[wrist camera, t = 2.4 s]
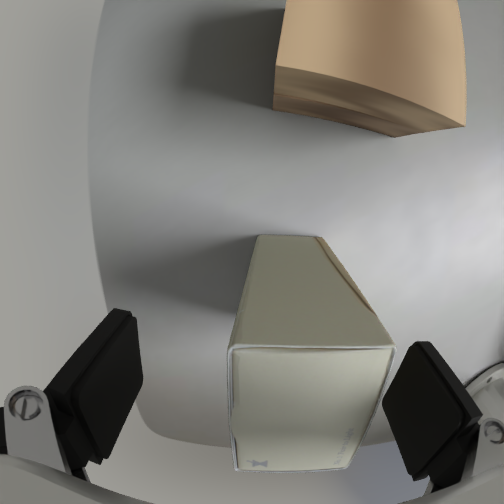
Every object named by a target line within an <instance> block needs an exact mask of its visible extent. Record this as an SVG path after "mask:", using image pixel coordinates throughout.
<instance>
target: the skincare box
mask: <svg viewBox="0 0 504 504" xmlns="http://www.w3.org/2000/svg"><path fill="white" fill-rule="evenodd" d="M395 354H396V345H395V343H394V342H393V340H392V339H391V337H390V335H389V334H388V332H387V331H386V329H385V328H384V326H383V325H382V323H381V322H380V320H379V319H378V317H377V315H376V314H375V312H374V311H373V309H372V308H371V306H370V305H369V303H368V302H367V300H366V298H365V297H364V296H363V294H362V293H361V291H360V290H359V288H358V287H357V285H356V284H355V282H354V281H353V280H352V278H351V277H350V275H349V274H348V272H347V271H346V269H345V268H344V266H343V265H342V264H341V262H340V261H339V260H338V258H337V257H336V255H335V254H334V253H333V251H332V250H331V248H330V247H329V246H328V244H327V243H326V242H325V240H324V239H323V238H322V237H307V236H287V235H259V236H258V237H257V239H256V243H255V247H254V251H253V255H252V258H251V262H250V266H249V270H248V273H247V277H246V281H245V285H244V288H243V292H242V296H241V300H240V304H239V307H238V311H237V315H236V319H235V323H234V326H233V330H232V333H231V337H230V342H229V345H228V350H227V387H228V416H229V429H230V439H231V448H232V456H233V463H234V470H235V471H246V472H248V471H249V472H263V473H265V472H268V473H301V472H320V471H333V470H342V469H346V468H347V467H348V466H349V465H350V463H351V461H352V460H353V458H354V456H355V455H356V453H357V451H358V449H359V447H360V445H361V444H362V442H363V439H364V437H365V435H366V433H367V431H368V429H369V427H370V424H371V422H372V419H373V417H374V415H375V413H376V410H377V408H378V405H379V402H380V400H381V397H382V395H383V392H384V388H385V385H386V383H387V380H388V377H389V374H390V371H391V368H392V364H393V361H394V357H395Z"/></svg>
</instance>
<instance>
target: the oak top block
mask: <svg viewBox="0 0 504 504" xmlns="http://www.w3.org/2000/svg"><path fill="white" fill-rule="evenodd" d="M274 93H276V94H282V95H288V96H294V97H299V98H304V99H309V100H314V101H318V102H323V103H327V104H331V105H336V106H340V107H343V108H347V109H351V110H355V111H358V112H362V113H365V114H368V115H372V116H375V117H378V118H381V119H384V120H387V121H390V122H393V123H396V124H399V125H402V126H405V127H408V128H410V129H413V130H415V131H418V132H421V133H424V132H430V131H437V130H443V129H450V128H457V127H465V125H466V64H465V51H464V41H463V33H462V25H461V19H460V13H459V8H458V3H457V0H287V2H286V7H285V13H284V19H283V25H282V31H281V36H280V42H279V48H278V54H277V60H276V67H275V84H274Z"/></svg>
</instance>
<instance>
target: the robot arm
mask: <svg viewBox="0 0 504 504" xmlns="http://www.w3.org/2000/svg"><path fill="white" fill-rule="evenodd" d="M142 383H143V372H142V365H141V357H140V348H139V339H138V328H137V319H136V317H133V316H132V313H131V312H130V311H126V310H121V309H117V308H114V309H113V310H112V311H111V312H110V313H109V314H108V315H107V316H106V317H105V318H104V320H103V321H102V322H101V323H100V324H99V325H98V326H97V327H96V329H95V330H94V331H93V332H92V333H91V334H90V335H89V337H88V338H87V339H86V340H85V341H84V342H83V343H82V344H81V346H80V347H79V348H78V349H77V350H76V351H75V352H74V354H73V355H72V356H71V357H70V359H69V360H68V361H67V362H66V363H65V365H64V366H63V367H62V368H61V369H60V371H59V372H58V373H57V374H56V376H55V377H54V378H53V379H52V381H51V382H50V383H49V385H48V386H47V387H46V388H45V389H44V391H42V390H40V389H38V388H37V387H33V386H21V387H18V388H16V389H14V390H12V391H11V392H10V393H9V394H8V395H7V397H6V399H5V403H4V407H0V504H153V503H149V502H146V501H142V500H138V499H135V498H131V497H128V496H125V495H122V494H119V493H116V492H113V491H110V490H108V489H104V488H102V487H99V486H97V485H94V484H92V483H91V482H90V480H89V477H88V475H87V473H86V470H85V467H86V465H87V463H88V461H92V462H94V463H96V464H99V465H101V463H102V460H103V458H104V459H108V458H109V456H110V454H111V452H112V449H113V447H114V445H115V443H116V440H117V438H118V436H119V434H120V432H121V429H122V427H123V425H124V423H125V421H126V418H127V416H128V414H129V412H130V410H131V408H132V406H133V403H134V401H135V399H136V397H137V395H138V393H139V391H140V389H141V387H142ZM382 407H383V409H384V412H385V414H386V417H387V419H388V422H389V424H390V427H391V429H392V432H393V434H394V437H395V440H396V442H397V445H398V447H399V450H400V453H401V455H402V458H403V461H404V464H405V466H406V469H407V472H408V474H409V475H412V478H413V481H417V480H421V479H424V478H426V477H427V476H428V475H429V476H430V481H429V483H428V486H427V488H426V491H425V493H424V495H423V496H422V497H419V498H416V499H413V500H409V501H406V502H403V503H399V504H504V363H500V364H498V365H496V366H494V367H492V368H490V369H488V370H487V371H486V372H484V373H483V374H481V375H480V376H479V377H478V378H476V379H475V380H474V381H473V382H472V383H470V384H469V385H468V386H467V387H466V388H465V387H464V386H463V385H462V383H461V382H460V380H459V379H458V378H457V376H456V375H455V374H454V372H453V371H452V369H451V368H450V367H449V365H448V364H447V363H446V362H445V360H444V359H443V358H442V356H441V355H440V354H439V352H438V351H437V350H436V349H435V347H434V346H433V345H432V343H430V342H428V341H417V342H415V343H413V345H412V346H410V347H409V349H408V351H407V353H406V355H405V357H404V359H403V361H402V363H401V365H400V367H399V369H398V371H397V373H396V375H395V377H394V379H393V381H392V383H391V385H390V387H389V388H388V390H387V392H386V394H385V396H384V398H383V400H382Z"/></svg>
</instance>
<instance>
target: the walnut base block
mask: <svg viewBox="0 0 504 504" xmlns="http://www.w3.org/2000/svg"><path fill="white" fill-rule="evenodd" d="M273 110H275V111H281V112H288V113H294V114H300V115H305V116H310V117H316V118H321V119H325V120H330V121H334V122H339V123H343V124H347V125H351V126H355V127H359V128H363V129H367V130H371V131H374V132H378V133H381V134H384V135H388V136H391V137H394V138H395V137H400V136H406V135H411V134H417V133H421V132H418V131H415V130H413V129H410V128H408V127H405V126H402V125H399V124H396V123H393V122H390V121H387V120H384V119H381V118H378V117H375V116H372V115H368V114H365V113H362V112H358V111H355V110H351V109H347V108H343V107H340V106H336V105H331V104H327V103H323V102H318V101H314V100H309V99H304V98H299V97H294V96H288V95H282V94H276V93H274V95H273Z"/></svg>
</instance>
